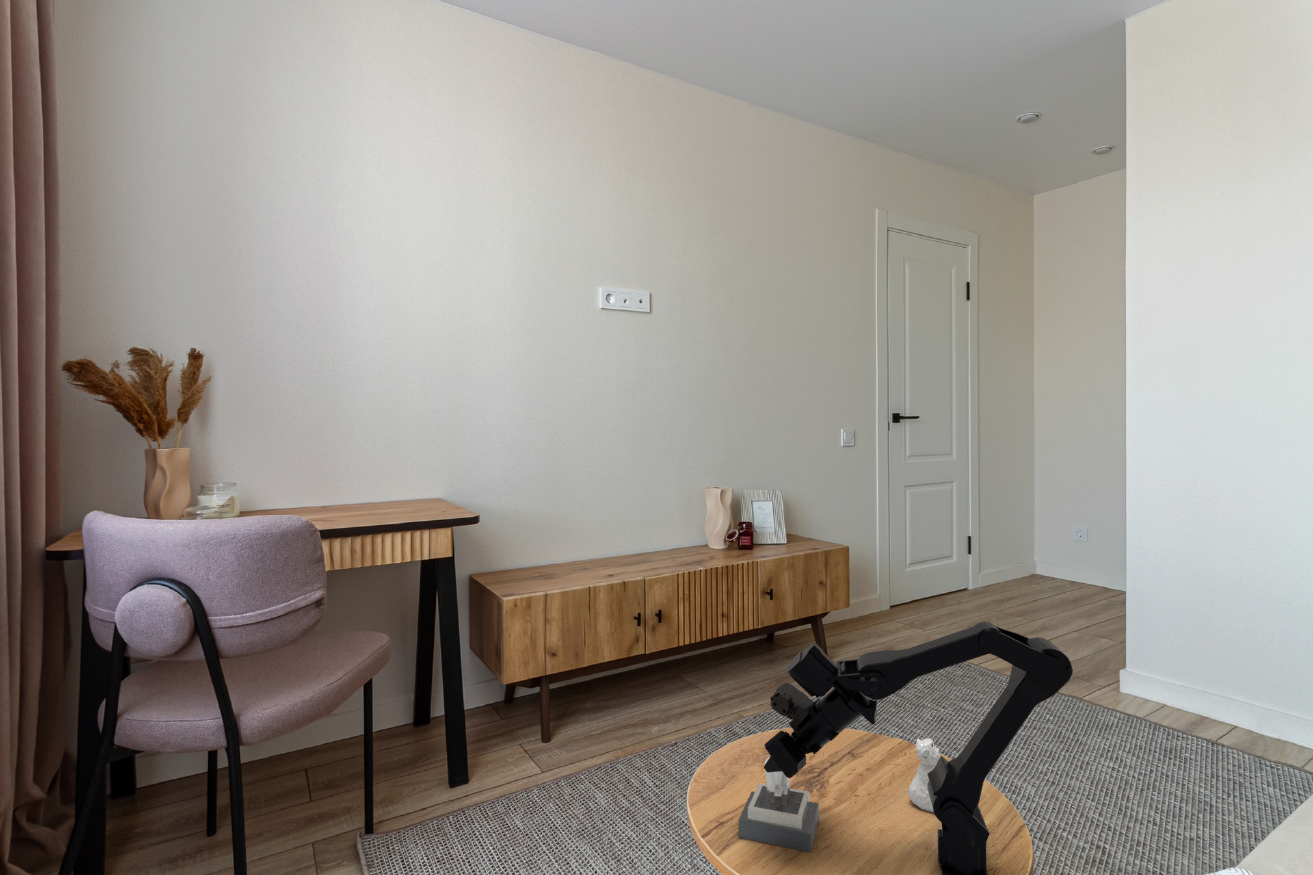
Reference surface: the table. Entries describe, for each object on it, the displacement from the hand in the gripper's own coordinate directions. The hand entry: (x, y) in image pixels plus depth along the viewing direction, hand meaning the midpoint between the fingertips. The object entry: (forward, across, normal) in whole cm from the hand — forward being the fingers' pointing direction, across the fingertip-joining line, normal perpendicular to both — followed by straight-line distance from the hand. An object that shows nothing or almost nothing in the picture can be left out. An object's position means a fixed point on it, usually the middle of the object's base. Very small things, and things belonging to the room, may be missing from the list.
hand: (772, 763), depth 119 cm
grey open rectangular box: (+7, 0, +9) cm, 11 cm away
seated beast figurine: (-7, -23, +23) cm, 33 cm away
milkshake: (+5, 0, +7) cm, 8 cm away
